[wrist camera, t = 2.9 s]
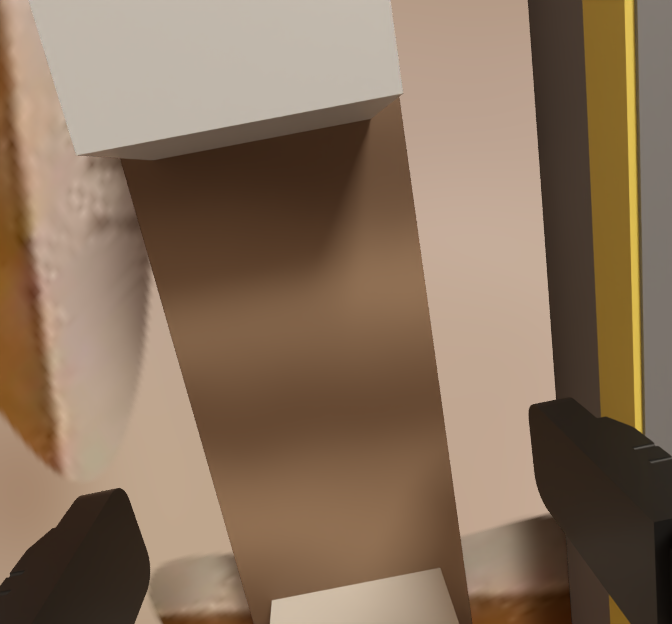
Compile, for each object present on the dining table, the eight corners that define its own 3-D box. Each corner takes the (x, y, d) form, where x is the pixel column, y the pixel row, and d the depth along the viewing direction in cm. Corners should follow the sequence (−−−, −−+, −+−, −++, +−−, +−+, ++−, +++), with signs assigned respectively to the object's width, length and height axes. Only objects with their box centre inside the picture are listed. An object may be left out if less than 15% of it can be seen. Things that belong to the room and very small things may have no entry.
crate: (91, -69, 10) (-37, -212, 6) (334, -115, 10) (351, -284, 7) (152, 160, 12) (76, 155, 8) (371, 118, 12) (403, 92, 8)
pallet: (111, -51, 14) (35, -137, 10) (344, -95, 14) (358, -197, 10) (292, 637, 20) (288, 746, 17) (450, 606, 20) (483, 708, 17)
